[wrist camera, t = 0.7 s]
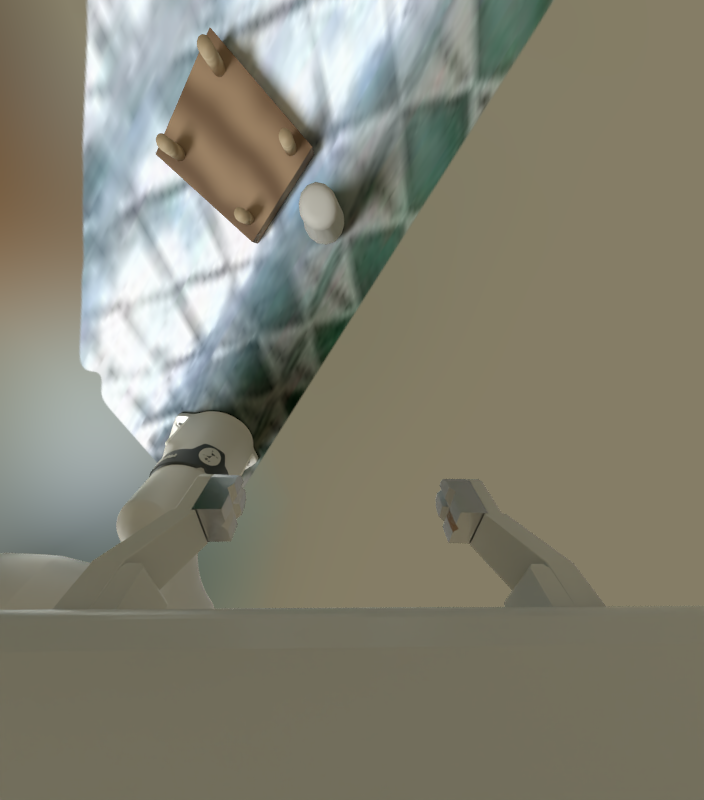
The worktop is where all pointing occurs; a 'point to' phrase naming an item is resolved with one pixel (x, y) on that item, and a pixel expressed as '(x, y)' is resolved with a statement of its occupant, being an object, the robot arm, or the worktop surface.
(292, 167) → the peg stand
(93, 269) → the worktop surface
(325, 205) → the salt shaker
